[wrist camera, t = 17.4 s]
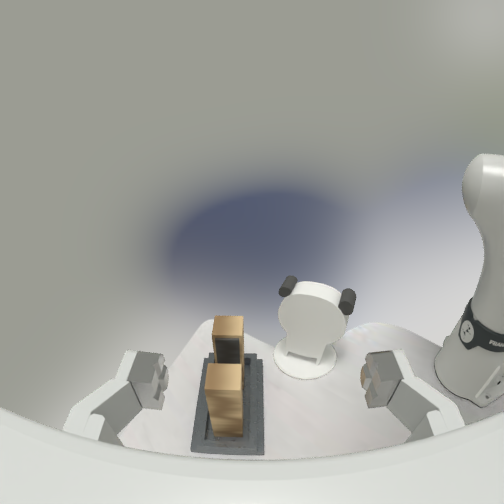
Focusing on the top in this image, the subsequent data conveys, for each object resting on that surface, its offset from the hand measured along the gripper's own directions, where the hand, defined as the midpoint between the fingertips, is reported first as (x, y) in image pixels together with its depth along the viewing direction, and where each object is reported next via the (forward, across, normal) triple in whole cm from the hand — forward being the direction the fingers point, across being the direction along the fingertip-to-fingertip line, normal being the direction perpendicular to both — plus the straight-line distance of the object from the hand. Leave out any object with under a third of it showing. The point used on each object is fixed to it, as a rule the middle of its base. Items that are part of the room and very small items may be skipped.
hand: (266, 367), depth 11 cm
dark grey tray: (+19, +4, +32) cm, 37 cm away
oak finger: (+15, +4, +31) cm, 34 cm away
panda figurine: (+30, -9, +32) cm, 45 cm away
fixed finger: (+24, +4, +31) cm, 39 cm away
